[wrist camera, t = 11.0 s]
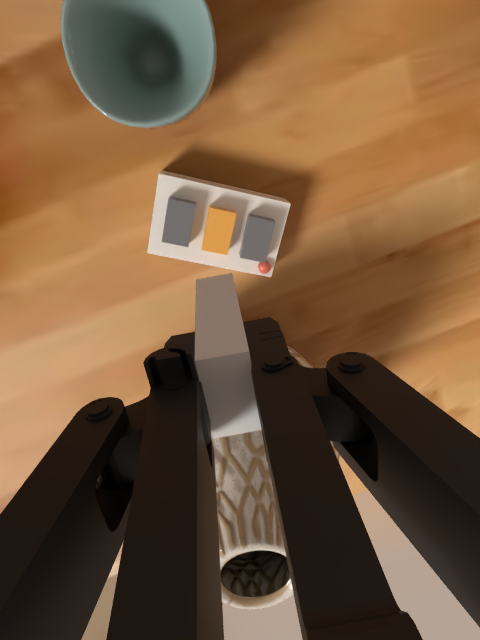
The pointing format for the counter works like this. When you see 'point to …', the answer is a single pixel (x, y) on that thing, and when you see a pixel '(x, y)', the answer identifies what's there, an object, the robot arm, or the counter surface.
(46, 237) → the counter surface
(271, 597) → the vase
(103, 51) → the cup
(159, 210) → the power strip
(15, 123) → the counter surface
